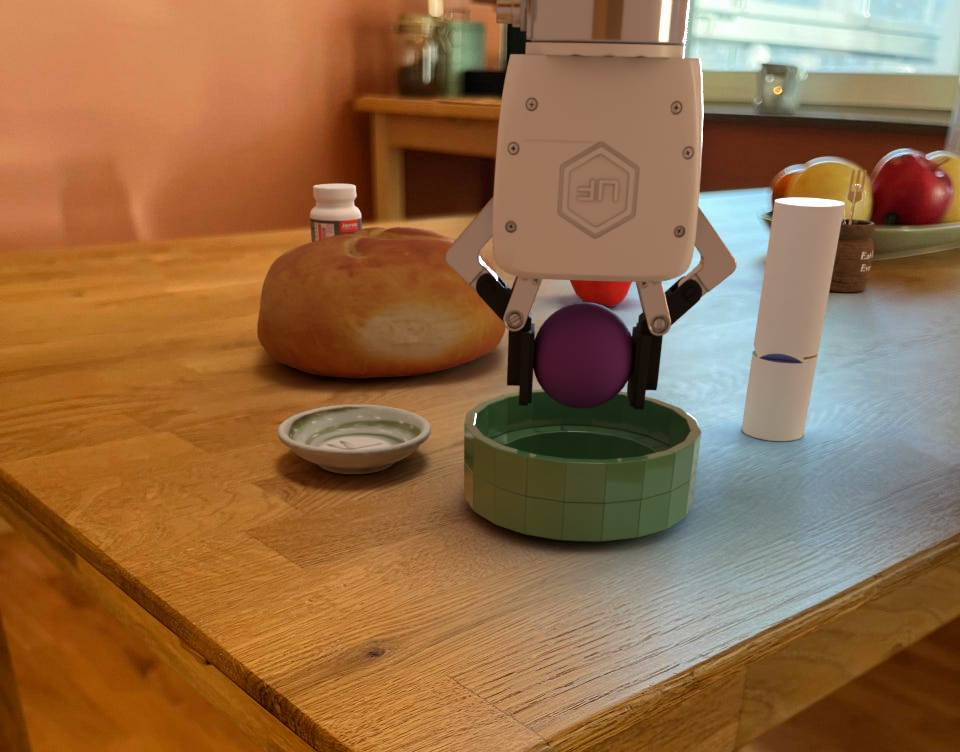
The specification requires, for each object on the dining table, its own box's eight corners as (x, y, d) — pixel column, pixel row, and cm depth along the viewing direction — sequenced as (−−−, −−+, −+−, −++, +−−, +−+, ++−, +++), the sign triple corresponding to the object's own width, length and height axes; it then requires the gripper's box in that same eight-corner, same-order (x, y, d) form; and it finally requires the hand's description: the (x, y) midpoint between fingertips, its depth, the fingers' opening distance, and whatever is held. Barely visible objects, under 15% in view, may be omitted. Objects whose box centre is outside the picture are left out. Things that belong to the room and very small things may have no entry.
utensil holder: (811, 291, 114) (831, 174, 108) (812, 280, 119) (831, 168, 113) (866, 295, 112) (889, 176, 106) (865, 284, 118) (887, 170, 112)
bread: (198, 347, 90) (183, 226, 85) (410, 311, 103) (408, 204, 98) (340, 409, 75) (332, 267, 70) (568, 358, 88) (574, 235, 83)
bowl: (675, 467, 65) (684, 390, 63) (704, 555, 54) (716, 466, 52) (471, 461, 66) (471, 385, 63) (457, 547, 55) (457, 459, 52)
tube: (779, 418, 74) (816, 196, 67) (816, 437, 71) (859, 205, 63) (729, 425, 73) (761, 198, 65) (764, 444, 69) (802, 207, 62)
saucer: (462, 460, 66) (462, 424, 65) (350, 502, 60) (348, 463, 59) (361, 427, 72) (359, 393, 70) (249, 462, 65) (245, 425, 64)
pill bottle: (351, 286, 113) (346, 190, 108) (305, 283, 115) (298, 187, 110) (372, 277, 118) (368, 184, 113) (327, 274, 119) (322, 181, 114)
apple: (540, 298, 109) (545, 188, 103) (608, 291, 112) (616, 185, 107) (585, 315, 102) (592, 199, 97) (656, 307, 106) (667, 195, 100)
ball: (625, 393, 59) (635, 294, 56) (633, 423, 54) (644, 317, 52) (529, 390, 59) (534, 291, 57) (529, 420, 55) (534, 313, 52)
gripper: (416, 15, 45) (420, 416, 54) (809, 23, 44) (746, 427, 53) (431, 20, 51) (433, 377, 60) (774, 27, 51) (723, 386, 60)
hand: (580, 397), depth 57 cm, fingers closed on ball, 5 cm apart
